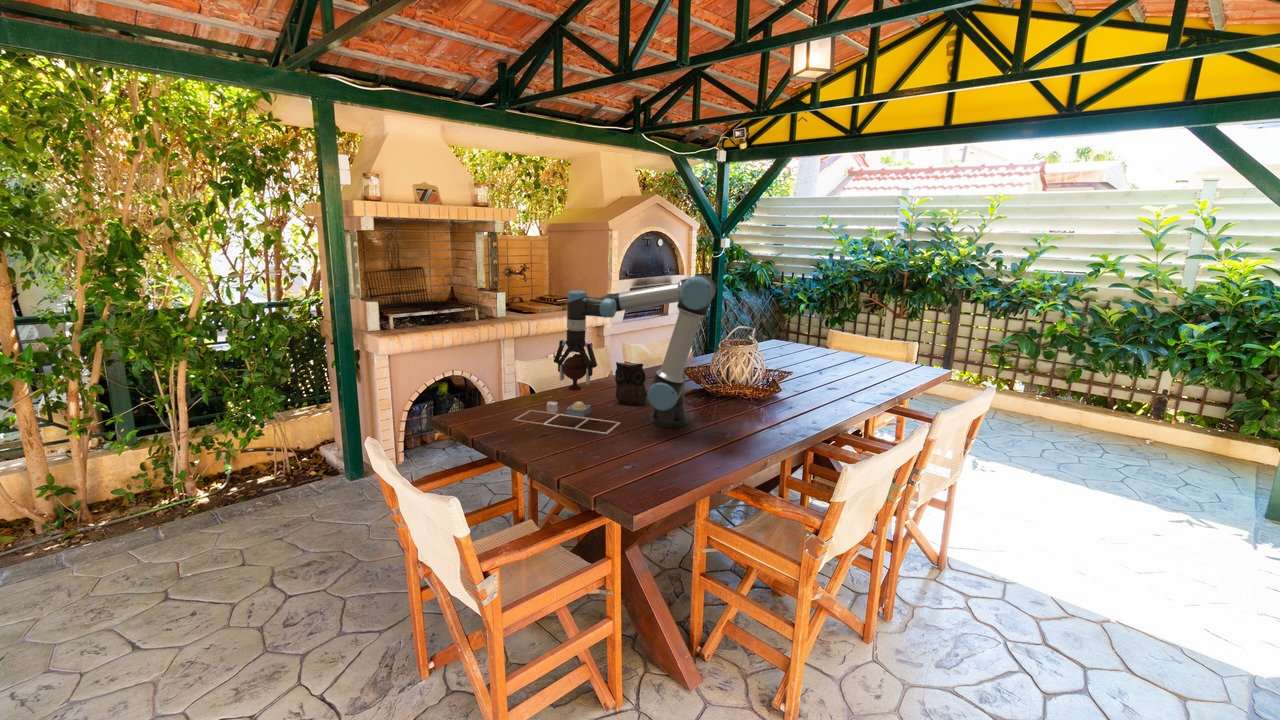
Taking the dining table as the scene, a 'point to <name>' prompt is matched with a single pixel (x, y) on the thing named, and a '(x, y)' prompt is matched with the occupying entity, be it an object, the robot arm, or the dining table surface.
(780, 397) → the dining table surface
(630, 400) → the owl
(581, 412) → the base
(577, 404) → the dome
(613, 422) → the track
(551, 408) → the die
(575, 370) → the ice cream bowl
